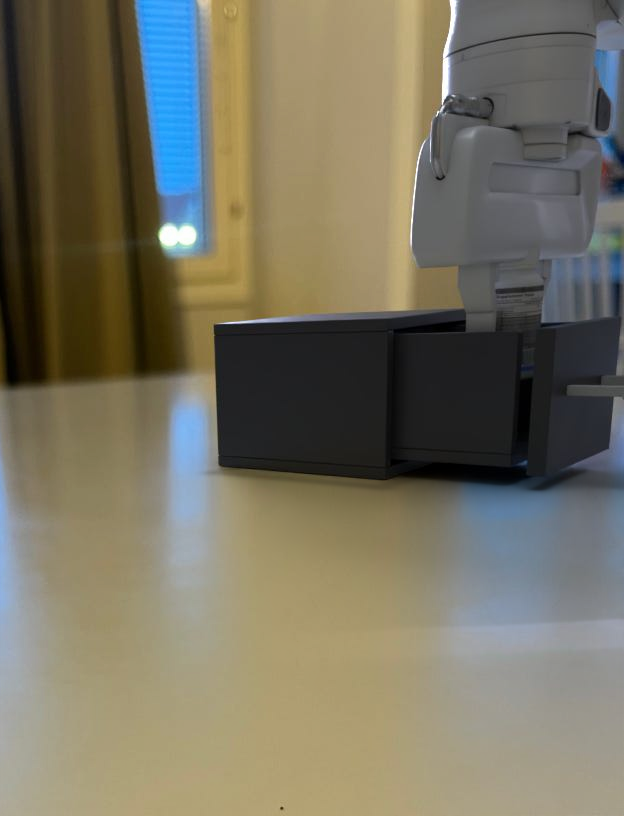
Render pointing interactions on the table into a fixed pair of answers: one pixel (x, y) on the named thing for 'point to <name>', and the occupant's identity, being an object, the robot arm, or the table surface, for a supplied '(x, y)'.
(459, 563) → the table surface
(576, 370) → the drawer
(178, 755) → the table surface
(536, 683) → the table surface
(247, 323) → the cabinet
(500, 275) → the pill bottle
